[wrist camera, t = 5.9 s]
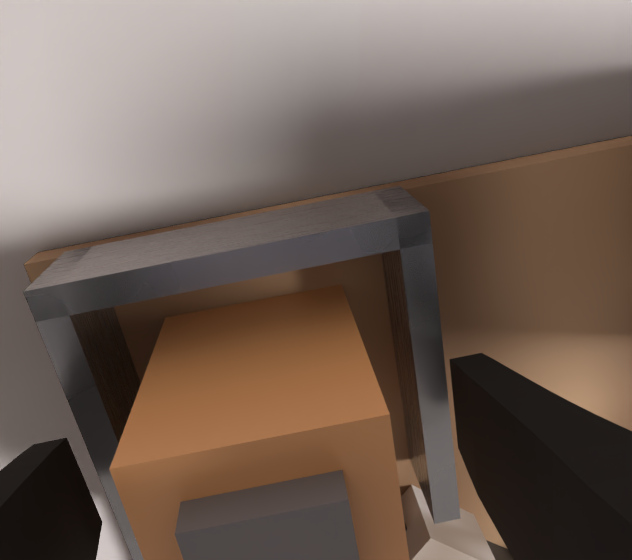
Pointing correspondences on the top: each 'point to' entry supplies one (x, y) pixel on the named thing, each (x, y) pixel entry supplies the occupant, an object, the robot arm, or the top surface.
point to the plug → (262, 438)
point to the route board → (474, 301)
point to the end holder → (238, 265)
